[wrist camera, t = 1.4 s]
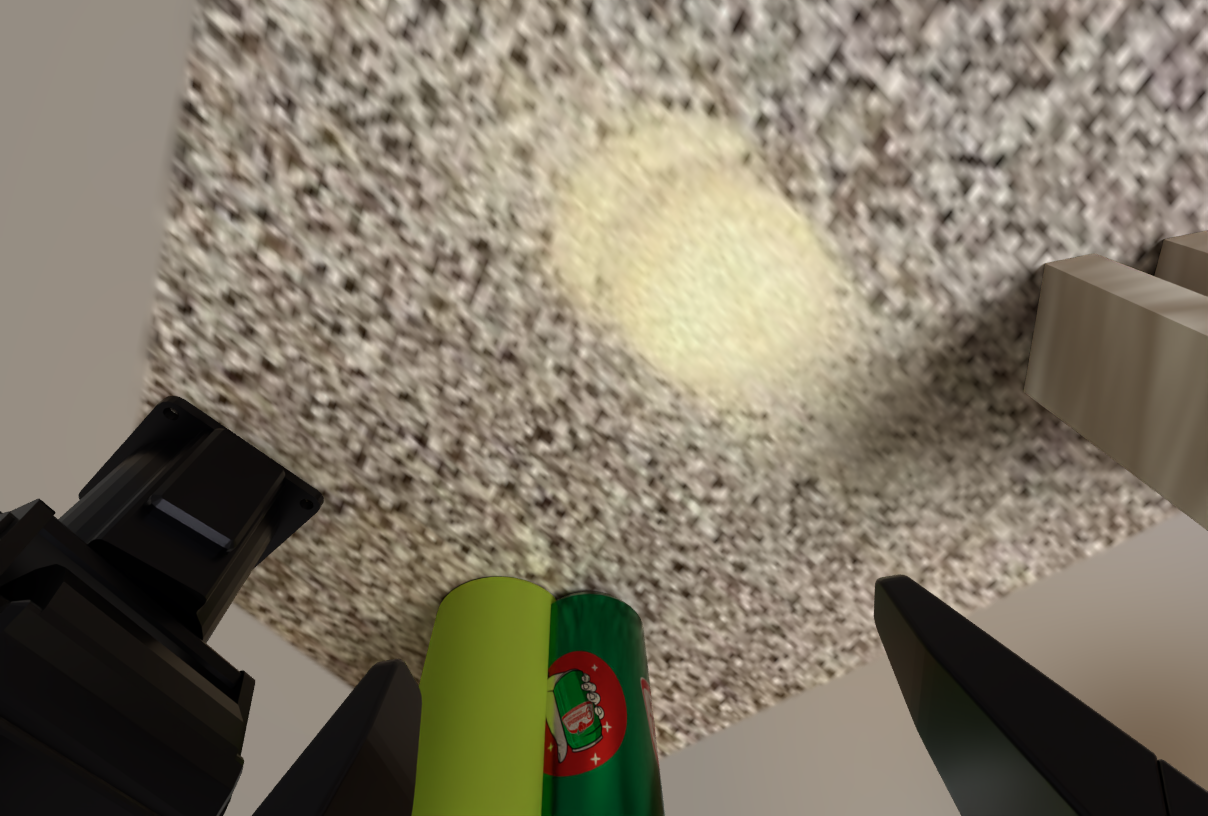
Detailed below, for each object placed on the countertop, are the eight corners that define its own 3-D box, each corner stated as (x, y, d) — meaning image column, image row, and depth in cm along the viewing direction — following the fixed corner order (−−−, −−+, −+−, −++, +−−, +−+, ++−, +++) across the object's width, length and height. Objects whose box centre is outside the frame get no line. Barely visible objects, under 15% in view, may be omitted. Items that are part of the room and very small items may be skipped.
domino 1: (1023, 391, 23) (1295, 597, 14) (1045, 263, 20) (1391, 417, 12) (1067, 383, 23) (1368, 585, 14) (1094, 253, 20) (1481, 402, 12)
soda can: (615, 668, 30) (636, 995, 20) (517, 644, 29) (484, 978, 18) (660, 600, 28) (710, 929, 17) (555, 571, 26) (542, 905, 16)
